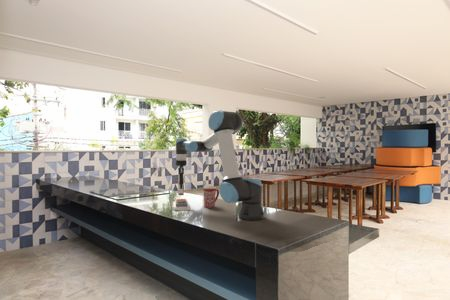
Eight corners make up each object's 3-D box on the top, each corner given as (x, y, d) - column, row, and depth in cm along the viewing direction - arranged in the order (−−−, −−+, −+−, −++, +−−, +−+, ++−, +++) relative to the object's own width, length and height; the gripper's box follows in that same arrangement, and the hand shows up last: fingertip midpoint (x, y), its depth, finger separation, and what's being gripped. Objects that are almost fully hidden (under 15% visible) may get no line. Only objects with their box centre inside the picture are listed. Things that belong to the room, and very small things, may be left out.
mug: (208, 208, 202) (208, 188, 202) (200, 206, 209) (200, 187, 209) (222, 206, 210) (222, 187, 210) (214, 204, 217) (214, 186, 217)
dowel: (183, 194, 216) (183, 177, 216) (183, 195, 212) (183, 178, 212) (178, 194, 215) (178, 177, 215) (178, 195, 211) (178, 178, 211)
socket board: (188, 203, 220) (188, 198, 220) (190, 209, 198) (190, 203, 198) (173, 204, 218) (173, 198, 218) (173, 210, 196) (173, 204, 196)
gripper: (175, 159, 221) (175, 191, 221) (176, 160, 204) (175, 194, 205) (185, 159, 222) (185, 190, 223) (187, 160, 206) (186, 194, 206)
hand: (181, 192), depth 214 cm, fingers closed on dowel, 4 cm apart
